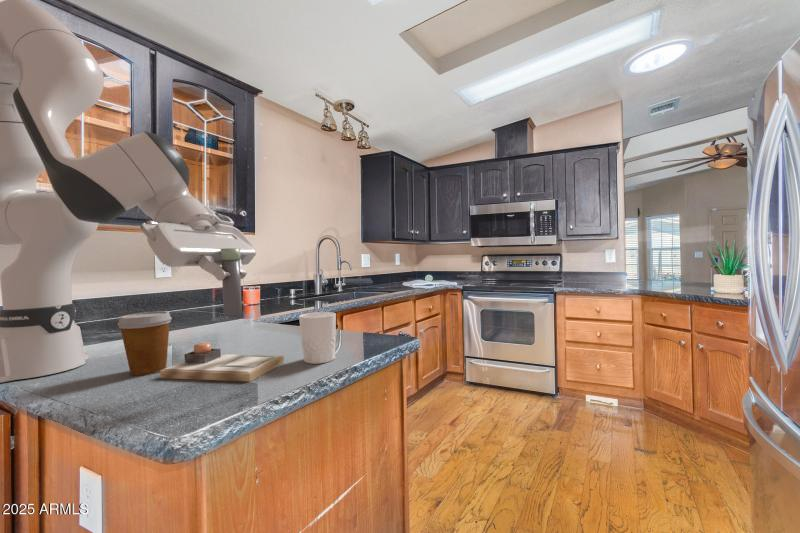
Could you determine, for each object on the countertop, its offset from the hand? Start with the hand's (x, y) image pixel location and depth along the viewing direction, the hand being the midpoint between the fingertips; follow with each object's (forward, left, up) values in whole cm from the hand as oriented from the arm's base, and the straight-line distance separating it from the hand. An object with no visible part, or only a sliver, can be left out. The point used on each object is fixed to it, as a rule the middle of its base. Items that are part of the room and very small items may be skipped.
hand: (234, 277), depth 67 cm
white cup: (+8, +17, -20) cm, 27 cm away
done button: (-15, +9, -17) cm, 24 cm away
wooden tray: (-9, +8, -20) cm, 23 cm away
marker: (-1, 0, -7) cm, 7 cm away
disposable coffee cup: (-26, +6, -20) cm, 33 cm away
